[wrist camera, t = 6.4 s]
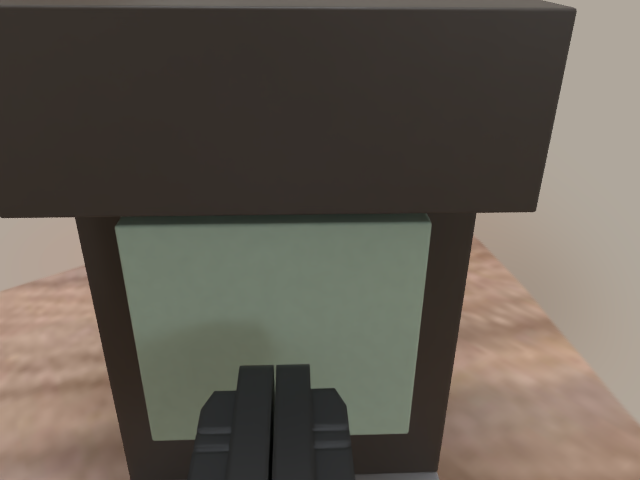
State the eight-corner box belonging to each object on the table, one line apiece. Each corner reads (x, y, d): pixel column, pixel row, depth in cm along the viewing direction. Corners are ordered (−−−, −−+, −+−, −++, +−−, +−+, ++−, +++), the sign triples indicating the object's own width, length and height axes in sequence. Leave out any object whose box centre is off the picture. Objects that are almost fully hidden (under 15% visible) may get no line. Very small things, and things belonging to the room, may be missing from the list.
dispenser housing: (463, 602, 17) (591, 11, 10) (96, 617, 17) (-88, 8, 9) (400, 359, 28) (437, -25, 20) (169, 364, 27) (112, -27, 19)
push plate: (408, 434, 16) (433, 222, 13) (151, 442, 15) (113, 226, 12) (399, 396, 17) (419, 196, 14) (162, 402, 17) (130, 198, 14)
